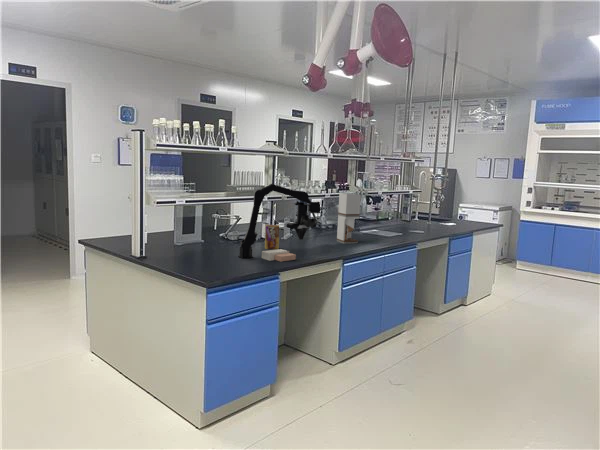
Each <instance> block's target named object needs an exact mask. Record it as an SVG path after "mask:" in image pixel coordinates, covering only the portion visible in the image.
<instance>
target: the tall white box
mask: <svg viewBox="0 0 600 450" xmlns="http://www.w3.org/2000/svg"><path fill="white" fill-rule="evenodd" d="M338 196H339V197H338V211H337V212H338V213H337V214H338V215H337V231H336V232H337V233H336V242H337V243H340V244H343V245H349V244H350V245H351V244H358V243H359V240H357V239H356V238H352V232H353V231H354V230H355V228H354V227H355V220H356V219H357V220H359V219H360V217H361V216H360V213H361V199H362V198H361V197H362V194H354V193H352V192H351V193H344V192H343V193H342V192H340V193H339V194H338Z"/></svg>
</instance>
